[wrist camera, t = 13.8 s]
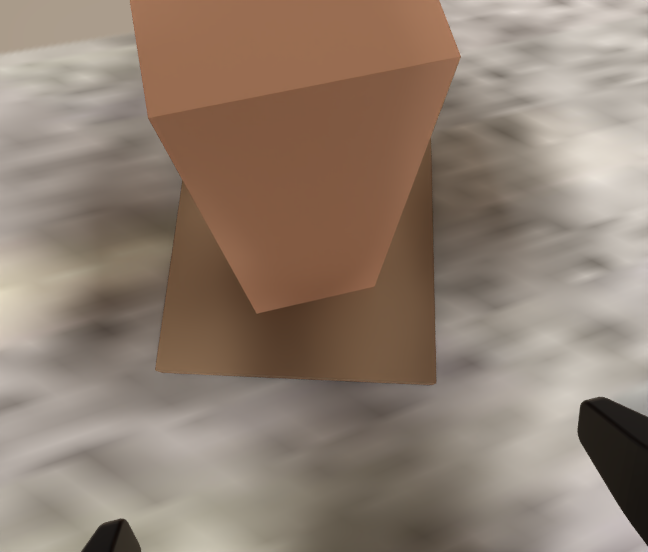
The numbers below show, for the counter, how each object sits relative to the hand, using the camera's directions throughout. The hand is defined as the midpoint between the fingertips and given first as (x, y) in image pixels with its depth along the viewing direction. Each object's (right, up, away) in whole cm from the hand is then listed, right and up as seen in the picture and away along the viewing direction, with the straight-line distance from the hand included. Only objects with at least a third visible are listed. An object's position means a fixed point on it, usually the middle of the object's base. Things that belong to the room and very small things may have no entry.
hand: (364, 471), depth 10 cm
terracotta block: (-2, +5, +10) cm, 11 cm away
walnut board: (-2, +5, +10) cm, 11 cm away
